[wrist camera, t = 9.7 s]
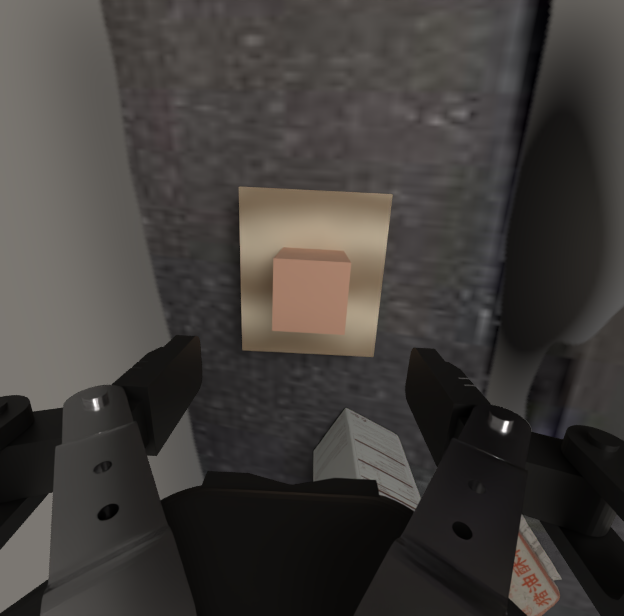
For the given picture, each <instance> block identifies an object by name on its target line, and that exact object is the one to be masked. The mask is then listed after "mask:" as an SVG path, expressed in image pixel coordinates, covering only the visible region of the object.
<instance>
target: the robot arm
mask: <svg viewBox="0 0 624 616" xmlns="http://www.w3.org/2000/svg"><path fill="white" fill-rule="evenodd" d="M201 383H202V361H201V347H200V340H199V337H198V336H184V335H176V336H175V337H174V338H173V339H172V340H171V341H169V342H168V343H167V344H166V345H165V346H164V347H160V348H158V349H156V350H154V351H152V352H149V353H148V354H146V355H145V356H144V357H143V358H142V359H141V360H140V361H139V362H137V363H136V364H135V365H134V366H133V367H132V368H130V369H129V370H128V371H127V372H126V373H124V374H123V375H122V376H121V377H120V378H119V379H118V380H116V381H115V382H114V383H113V384H112V385H101V386H95V387H92V388H88V389H85V390H83V391H80V392H78V393H76V394H74V395H73V396H71V397H70V398H69V399H67V401H66V402H65V403H64V405H63V408H57V409H49V410H42V411H34V412H33V411H32V408H31V404H30V401H29V399H28V398H27V397H25V396H20V395H11V396H3V397H0V549H1V548H2V547H3V546H4V545H5V544H6V542H7V541H8V540H9V539H10V538H11V537H12V535H13V534H14V533H15V532H16V531H17V530H18V528H19V527H20V526H21V525H22V524H23V523H24V521H25V520H26V519H27V518H28V517H29V516H30V515H31V513H32V512H33V511H34V510H35V509H36V508H37V507H38V505H39V504H40V503H41V502H42V501H43V500H44V498H45V497H46V496H47V495H48V493H52V492H53V503H52V524H51V543H50V563H49V579H48V580H46V581H45V582H44V583H42V584H41V585H39V586H38V587H37V588H35V589H34V590H32V591H31V592H30V593H28V594H27V595H25V596H24V597H23V598H21V599H20V600H19V601H17V602H16V603H14V604H13V605H11V606H10V607H9V608H7V609H6V610H4V611H3V612H2V613H0V616H527V615H526V614H525V613H524V612H523V611H522V610H521V609H520V608H519V607H518V606H517V605H516V604H515V603H514V602H513V601H511V600H510V599H509V592H510V585H511V579H512V573H513V566H514V560H515V553H516V547H517V541H518V534H519V528H520V522H521V515H522V514H523V515H526V516H529V517H532V518H535V519H538V520H540V522H541V524H542V525H543V527H544V528H545V530H546V532H547V533H548V535H549V536H550V538H551V539H552V541H553V542H554V544H555V545H556V547H557V549H558V550H559V552H560V553H561V555H562V556H563V558H564V559H565V561H566V563H567V564H568V566H569V567H570V569H571V570H572V572H573V573H574V575H575V577H576V578H577V580H578V581H579V583H580V584H581V586H582V587H583V589H584V591H585V592H586V594H587V595H588V597H589V598H590V600H591V601H592V603H593V605H594V606H595V608H596V609H597V611H598V612H599V614H600V615H601V616H624V542H623V541H622V539H621V538H620V537H619V536H618V535H617V533H616V532H615V531H614V530H613V529H612V528H611V525H612V523H613V521H614V519H615V516H616V514H617V515H618V516H619V517H620V518H621V519H622V520H623V521H624V441H623V440H621V439H619V438H618V437H616V436H614V435H612V434H610V433H607V432H605V431H602V430H599V429H596V428H593V427H589V426H583V425H573V426H570V427H568V429H567V430H566V433H565V436H564V439H559V438H555V437H550V436H546V435H542V434H538V433H534V432H531V427H530V425H529V423H528V422H527V421H526V420H525V419H524V418H523V417H521V416H520V415H518V414H517V413H514V412H513V411H511V410H509V409H506V408H503V407H500V406H496V405H491V404H490V403H489V401H488V400H487V399H486V398H485V397H484V396H483V395H482V393H481V392H480V391H479V390H478V389H477V388H476V387H475V386H474V384H473V383H472V382H471V381H470V380H469V379H468V377H467V376H466V375H465V374H464V373H463V372H462V370H461V369H459V368H457V367H456V366H454V365H453V364H451V363H449V362H445V361H444V360H443V358H442V357H441V356H440V355H439V353H438V352H437V351H436V350H435V349H430V348H413V349H412V351H411V355H410V361H409V367H408V373H407V379H406V386H405V393H406V400H407V403H408V405H409V407H410V409H411V411H412V413H413V416H414V418H415V420H416V422H417V424H418V427H419V429H420V431H421V433H422V435H423V438H424V440H425V442H426V444H427V446H428V448H429V451H430V453H431V455H432V457H433V459H434V462H435V464H436V466H437V469H436V471H435V473H434V475H433V477H432V478H431V480H430V482H429V484H428V486H427V488H426V490H425V492H424V494H423V496H422V498H421V499H420V501H419V503H418V505H417V507H416V509H415V511H413V510H412V509H410V508H409V507H407V506H405V505H404V504H402V503H400V502H398V501H396V500H393V499H391V498H388V497H386V496H383V495H379V490H378V485H377V481H376V480H370V479H350V478H330V479H324V480H319V481H313V482H307V483H301V484H295V485H289V484H285V483H281V482H278V481H274V480H271V479H267V478H264V477H260V476H257V475H253V474H250V473H235V472H215V471H208V472H207V474H206V476H205V479H204V481H203V484H202V485H201V486H196V487H192V488H189V489H185V490H183V491H180V492H177V493H175V494H172V495H170V496H168V497H166V498H164V499H162V500H161V501H160V498H159V495H158V491H157V488H156V484H155V481H154V478H153V475H152V471H151V468H150V464H149V461H148V458H147V455H150V456H157V455H158V453H159V452H160V450H161V448H162V447H163V445H164V444H165V442H166V441H167V439H168V438H169V436H170V434H171V433H172V431H173V430H174V428H175V427H176V425H177V423H178V422H179V421H180V419H181V417H182V416H183V414H184V413H185V411H186V410H187V408H188V407H189V405H190V403H191V402H192V400H193V399H194V397H195V396H196V394H197V393H198V391H199V389H200V386H201Z"/></svg>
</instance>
